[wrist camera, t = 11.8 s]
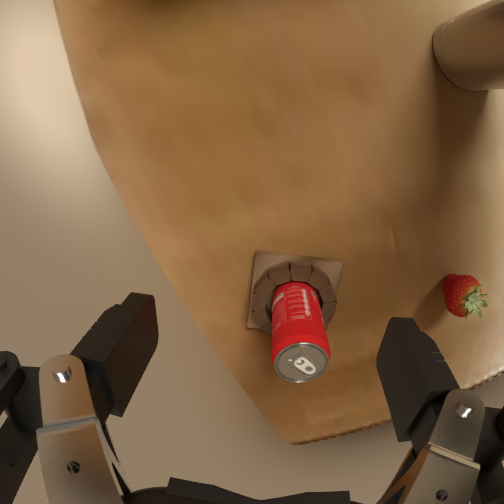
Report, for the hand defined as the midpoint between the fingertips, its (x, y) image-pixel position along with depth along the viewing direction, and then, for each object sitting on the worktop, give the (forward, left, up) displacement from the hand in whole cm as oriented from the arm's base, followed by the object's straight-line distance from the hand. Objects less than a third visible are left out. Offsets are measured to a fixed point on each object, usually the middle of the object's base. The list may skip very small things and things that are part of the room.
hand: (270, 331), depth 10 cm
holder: (-4, +12, -25) cm, 28 cm away
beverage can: (-4, +12, -24) cm, 27 cm away
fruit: (-25, +8, -25) cm, 36 cm away
